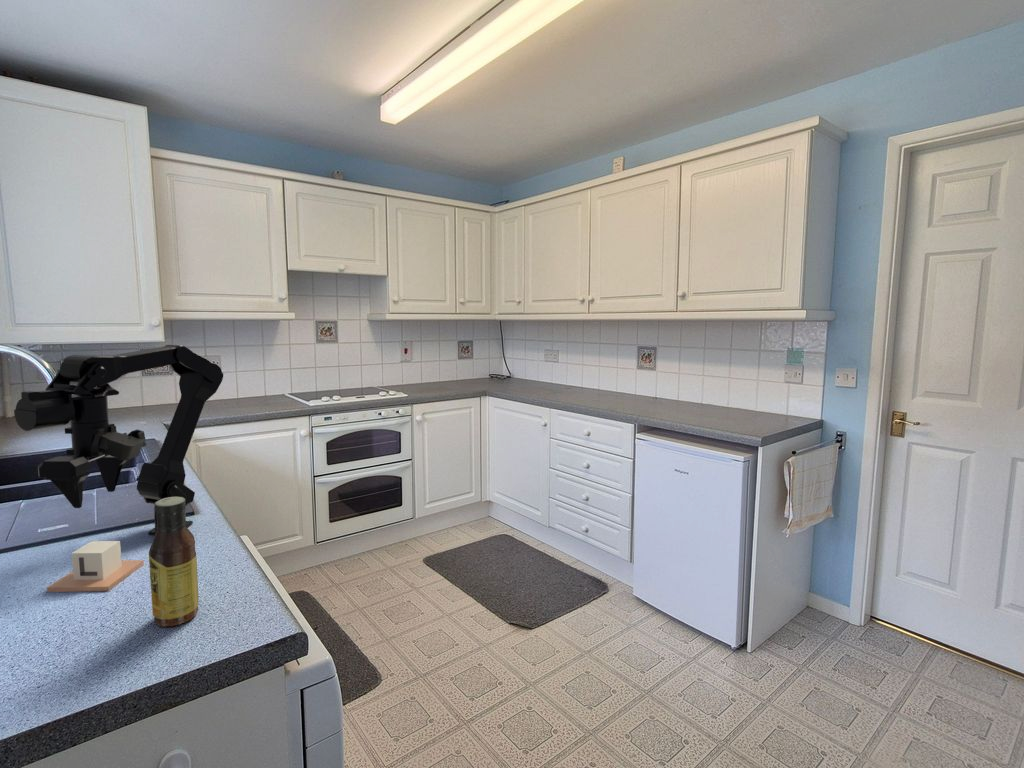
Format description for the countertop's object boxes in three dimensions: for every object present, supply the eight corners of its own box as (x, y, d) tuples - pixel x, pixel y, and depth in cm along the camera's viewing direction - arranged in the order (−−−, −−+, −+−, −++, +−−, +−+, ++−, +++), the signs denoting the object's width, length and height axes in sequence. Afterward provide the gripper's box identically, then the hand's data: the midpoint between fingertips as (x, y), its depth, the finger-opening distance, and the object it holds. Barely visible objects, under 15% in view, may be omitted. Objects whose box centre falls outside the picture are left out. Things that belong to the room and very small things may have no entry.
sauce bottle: (158, 611, 85) (151, 494, 83) (201, 604, 88) (196, 490, 85) (148, 634, 79) (140, 509, 77) (195, 625, 82) (189, 504, 79)
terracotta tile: (88, 564, 100) (88, 560, 100) (143, 564, 101) (143, 560, 101) (47, 591, 90) (46, 587, 90) (108, 590, 91) (108, 586, 91)
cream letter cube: (93, 566, 98) (91, 541, 97) (121, 566, 98) (120, 541, 98) (73, 580, 93) (70, 553, 92) (102, 579, 93) (101, 553, 93)
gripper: (100, 431, 91) (106, 517, 93) (162, 412, 110) (166, 484, 111) (32, 431, 90) (39, 517, 92) (106, 411, 109) (110, 484, 110)
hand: (95, 499), depth 101 cm, fingers open, 9 cm apart
